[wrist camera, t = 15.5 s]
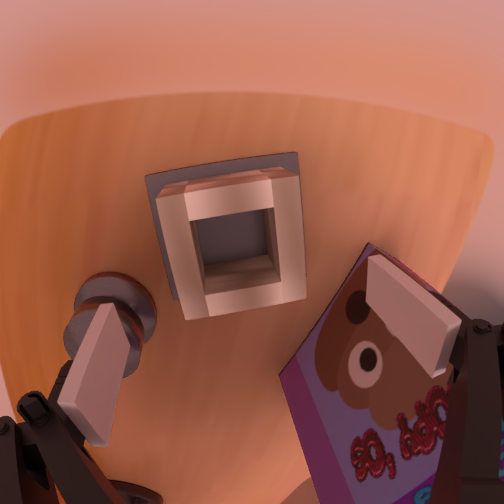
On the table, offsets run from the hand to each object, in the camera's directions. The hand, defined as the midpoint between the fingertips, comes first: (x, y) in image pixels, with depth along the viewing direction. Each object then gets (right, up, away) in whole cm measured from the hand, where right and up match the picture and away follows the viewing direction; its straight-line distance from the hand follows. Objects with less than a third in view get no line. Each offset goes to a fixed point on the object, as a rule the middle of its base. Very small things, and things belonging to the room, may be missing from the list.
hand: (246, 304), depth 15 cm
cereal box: (+9, -5, +16) cm, 19 cm away
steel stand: (-13, -3, +12) cm, 18 cm away
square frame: (-1, +4, +10) cm, 11 cm away
